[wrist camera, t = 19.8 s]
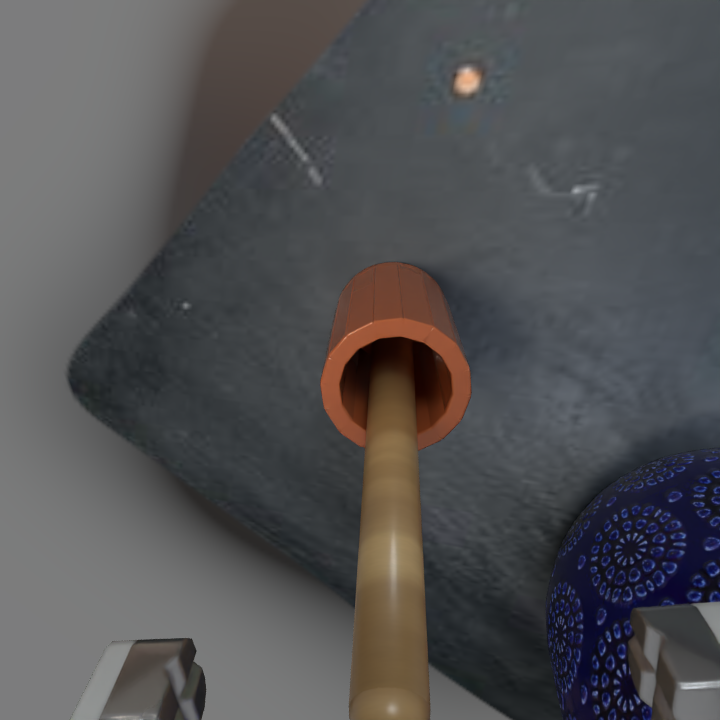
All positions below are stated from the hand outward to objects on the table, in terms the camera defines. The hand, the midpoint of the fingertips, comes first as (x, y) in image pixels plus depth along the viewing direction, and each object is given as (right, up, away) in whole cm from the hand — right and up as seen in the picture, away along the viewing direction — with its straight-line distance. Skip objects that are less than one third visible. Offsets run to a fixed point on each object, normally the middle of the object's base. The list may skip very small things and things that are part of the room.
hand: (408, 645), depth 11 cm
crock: (+1, +7, +18) cm, 19 cm away
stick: (+1, +7, +17) cm, 19 cm away
